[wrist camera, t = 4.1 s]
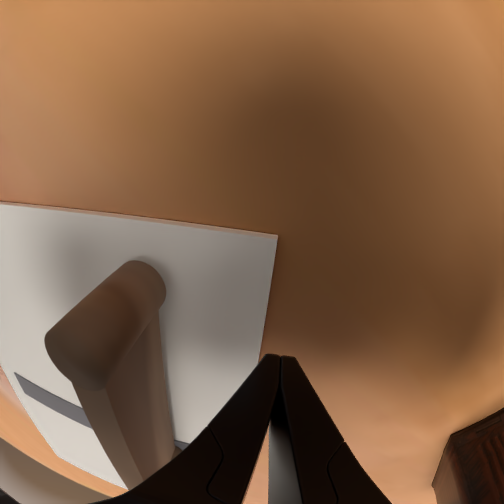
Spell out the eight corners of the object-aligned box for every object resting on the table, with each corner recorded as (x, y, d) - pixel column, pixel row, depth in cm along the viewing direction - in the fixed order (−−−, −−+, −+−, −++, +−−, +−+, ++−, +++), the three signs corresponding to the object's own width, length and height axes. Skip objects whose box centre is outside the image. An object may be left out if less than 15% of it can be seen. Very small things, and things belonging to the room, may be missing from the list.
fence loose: (148, 439, 13) (124, 494, 9) (114, 256, 9) (36, 320, 5) (180, 448, 13) (160, 507, 9) (165, 265, 9) (96, 343, 5)
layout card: (59, 454, 20) (57, 457, 19) (-43, 197, 10) (-49, 200, 10) (229, 513, 18) (228, 518, 18) (278, 235, 9) (277, 240, 8)
